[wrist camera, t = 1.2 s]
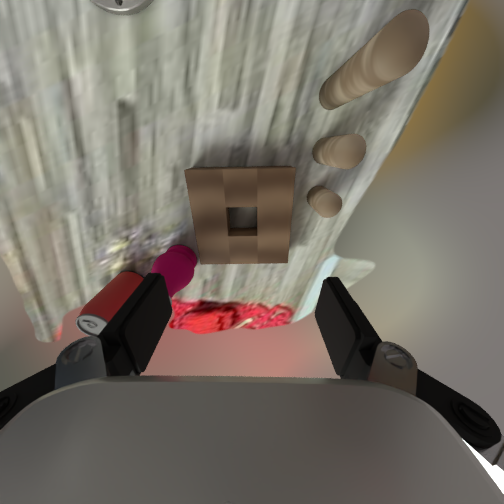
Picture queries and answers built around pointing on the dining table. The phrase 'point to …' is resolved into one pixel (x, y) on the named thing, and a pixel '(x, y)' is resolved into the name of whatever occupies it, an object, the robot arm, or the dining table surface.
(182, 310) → the dining table surface
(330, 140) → the medium pin
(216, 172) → the hole block
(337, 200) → the short pin
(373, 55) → the long pin
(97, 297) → the beer can
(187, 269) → the pepper mill
